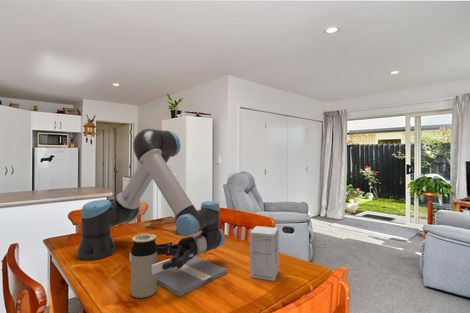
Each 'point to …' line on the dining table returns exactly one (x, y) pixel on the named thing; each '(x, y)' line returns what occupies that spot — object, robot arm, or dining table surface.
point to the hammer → (162, 224)
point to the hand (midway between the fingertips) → (140, 263)
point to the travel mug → (143, 265)
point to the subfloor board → (189, 276)
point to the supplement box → (264, 253)
